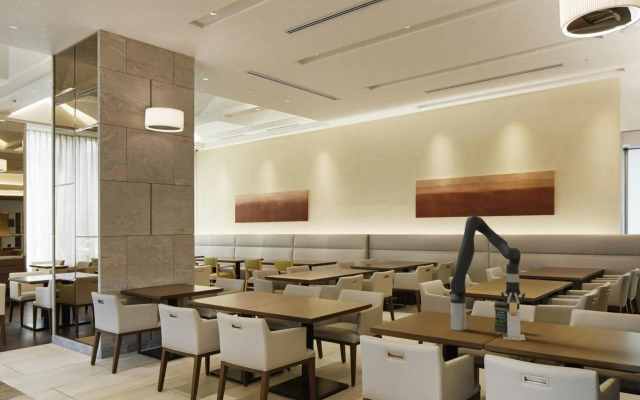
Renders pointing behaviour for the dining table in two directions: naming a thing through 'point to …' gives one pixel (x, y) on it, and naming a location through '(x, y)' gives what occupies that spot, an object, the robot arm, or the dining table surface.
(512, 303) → the post
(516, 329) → the stand
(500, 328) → the coffee jar
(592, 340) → the dining table surface
